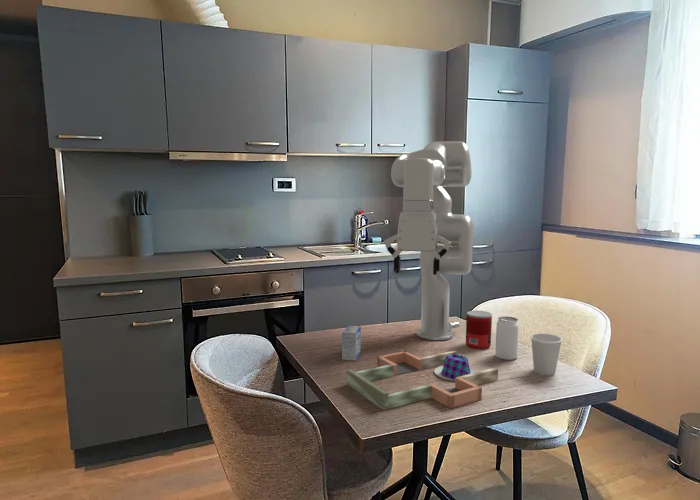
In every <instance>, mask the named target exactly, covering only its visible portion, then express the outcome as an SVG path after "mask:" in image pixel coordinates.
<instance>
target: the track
mask: <svg viewBox="0 0 700 500" xmlns="http://www.w3.org/2000/svg"><path fill="white" fill-rule="evenodd" d="M451 354H454V355H455V354H458V351H456V350H451V351H446V352H441V353H437V354H433V355H428V356H422V357H420V358H421V359H423V361H422V370H425V369H430V368H436V367H440V366H444V362H445V359H446V357H447V356H448V355H451ZM391 377H395V376H394V365H392V364H390V365H385V366H380V367H372V368H367V369H362V370H359V371H354V370H353V369H346V385H347V386H348V387H349V388H351V389H353V390H354V391H355V392H357V393H358V394H359V395H361V396H363V398H365V399H367V400H368V401H370V402H371V403H372V404H374V405H376V406H377V407H379V408H380V410H383V411H386V410H390V409H394V408H397V407H401V406H404V405H409V404H412V403H416V402H419V401H420V402H421V401H424V400H427V399H432V398H431V391H432V386H431V385H429V384H430V383H428V384H424V385H419V386H416V387H412V388H409V389H408V388H407V389H405V390H401V391H397V392H393V393H389V392H388V391H386V390H384V389H383V388H382V387H380V386H378V385H376V384H375V383H373V381H377V380H382V379H386V378H391ZM460 378H463V379H465V380H467V381H469V382H471V383H473V384H475V385H477V386H479V385H483V384H487V383H490V382H495V381H498V380H499V368H496V367H492V368H488V369H485V370H481V371H477V372H476V373H472V374H468V375H464V376H460Z"/></svg>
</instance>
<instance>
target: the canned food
mask: <svg viewBox="0 0 700 500" xmlns="http://www.w3.org/2000/svg"><path fill="white" fill-rule="evenodd" d="M465 320H466V321H465V322H466V323H465V344H466V346H467V347H468V348H470V349H473V350H488V349H490V347H491V344H492V326H493V325H492V324H493V322H492V321H493V314H492V313H491V312H489V311H486V310H470V311H467V312H466V319H465Z"/></svg>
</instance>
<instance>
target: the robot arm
mask: <svg viewBox="0 0 700 500" xmlns="http://www.w3.org/2000/svg"><path fill="white" fill-rule="evenodd" d="M471 163H472V162H471V154H470V150H469V147H468V145H467V143H465V142H464V141H460V140H458V141H457V140H456V141H455V140H454V141H453V140H452V141H450V140H449V141H431V142H430V143H428V144H426V145H425V146H424V148H422V149H419V150H416V151H411V152H408V153H404V154H401V155H399V156H398V157H397V158H396V159H395V160H394V161H393V163H392V165H391V171H390V176H391V181H392V183H393V184H394V186H396V187H399V188H402V189H403V192H402V193H403V196H402V197H403V198H402V199H403V200H402V201H403V202H402V203H403V204H402V211H401V212H400V214H399V219H398V227H397V233H396V234H394V235H392V236H391V237H388V238H386V239H384V240H383V243H384V246H385V248H386V250H387V252H388V253H389V254H390V255H391V256H392V257H393V270H395V274H399V273H400V272H401V259H402V258H401V256H400V254H401V253H402V252H420V253H419V263H420V271H421V305H420V306H421V307H420V309H421V311H420V312H421V314H420V315H421V316H420V328H418V329H417V330H416V336H417V337H419V338H421V339H423V340H428V341H445V340H450V339H452V338H453V337H454V333H453V331H452V329H456V328H459V326H460V324H459V322H458V321H455V322H454V321H453V322H451V321H450V295H451V293H450V292H451V291H450V288H451V287H450V283H449V282H448V280H447V279H446V277H445V276H444V275H462V276H463V275H464V276H465V275H467V274H469V273H470V272H471V270H472V267H473V266H472V265H473V247H474V245H473V244H474V224H473V219H472V218H471V217H470V216H469V215H467V214H458V213H457V214H455V213H454V214H453V212H452V206H453V205H452V203H453V200H452V197H451V196H450V194H449V193H448V192H447V191H446V189H445V188H447V187H448V188H450V187H451V188H453V187H455V188H464V187H467V186H468V185H470V183H471V180H472V172H473V171H472V164H471ZM444 187H445V188H444ZM394 241H396V246H397V249H395V248H394V247H393V246H392V242H394ZM438 242H439V243H440V244H443V245H438ZM452 243H456V244H458V245H459V246H457V245H455V246H454V245H452ZM451 245H452V246H451Z"/></svg>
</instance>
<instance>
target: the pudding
mask: <svg viewBox="0 0 700 500" xmlns="http://www.w3.org/2000/svg"><path fill="white" fill-rule="evenodd" d="M476 372H478V371H477V370H475V369H473V368H471V367H470V363H469V359H468V358H467V357H466V356H465V355H462V354H459V353H457V354H455V355H454V354H451V355H448V356H447V357H446V359H445V362H444V364H443V365H439V366H437V367H435V369H434V374H435V375H436V376H437V377H439V378H441V379H444V380H448V381H452V382H453V381H454V382H455V378H456V377H460V376H464V375H468V374H472V373H476Z"/></svg>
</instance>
